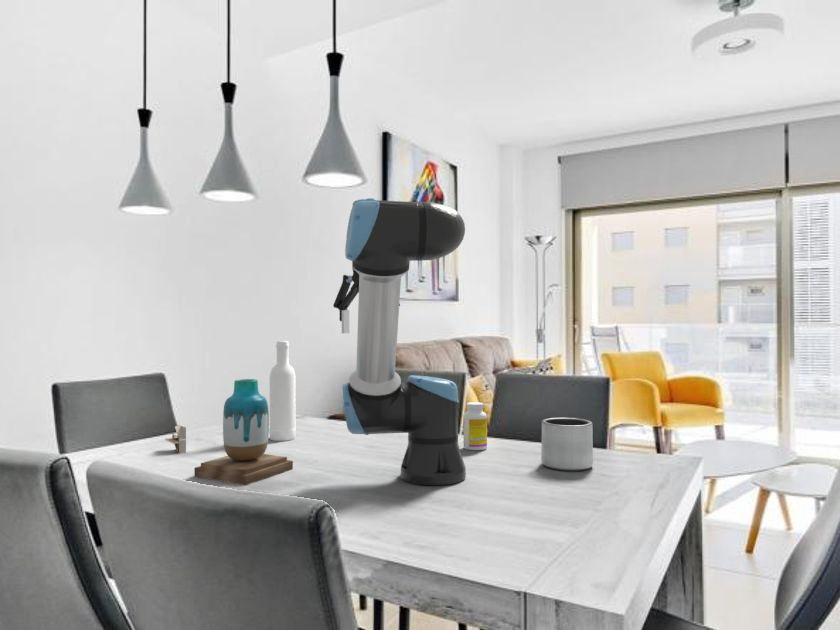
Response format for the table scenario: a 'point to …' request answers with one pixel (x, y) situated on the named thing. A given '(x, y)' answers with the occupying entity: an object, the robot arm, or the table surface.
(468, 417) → the supplement bottle
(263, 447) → the vase
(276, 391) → the bottle
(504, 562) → the table surface
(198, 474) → the pedestal
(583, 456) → the planter
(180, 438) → the architectural model
